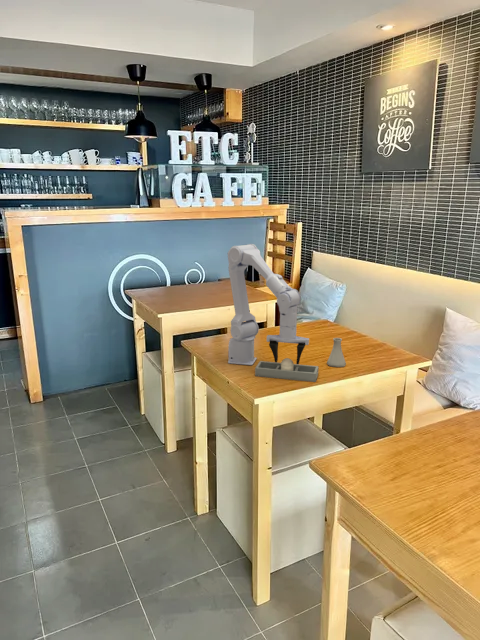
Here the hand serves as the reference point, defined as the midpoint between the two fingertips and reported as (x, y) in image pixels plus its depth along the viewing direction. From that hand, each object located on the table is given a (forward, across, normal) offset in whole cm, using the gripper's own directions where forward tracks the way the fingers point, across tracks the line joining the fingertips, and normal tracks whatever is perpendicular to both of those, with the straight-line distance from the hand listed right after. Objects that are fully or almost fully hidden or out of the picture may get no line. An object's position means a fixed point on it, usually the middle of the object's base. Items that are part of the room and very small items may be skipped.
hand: (286, 362), depth 172 cm
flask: (+5, -16, -16) cm, 23 cm away
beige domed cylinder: (+4, 0, 0) cm, 4 cm away
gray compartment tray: (+5, 0, 0) cm, 5 cm away
